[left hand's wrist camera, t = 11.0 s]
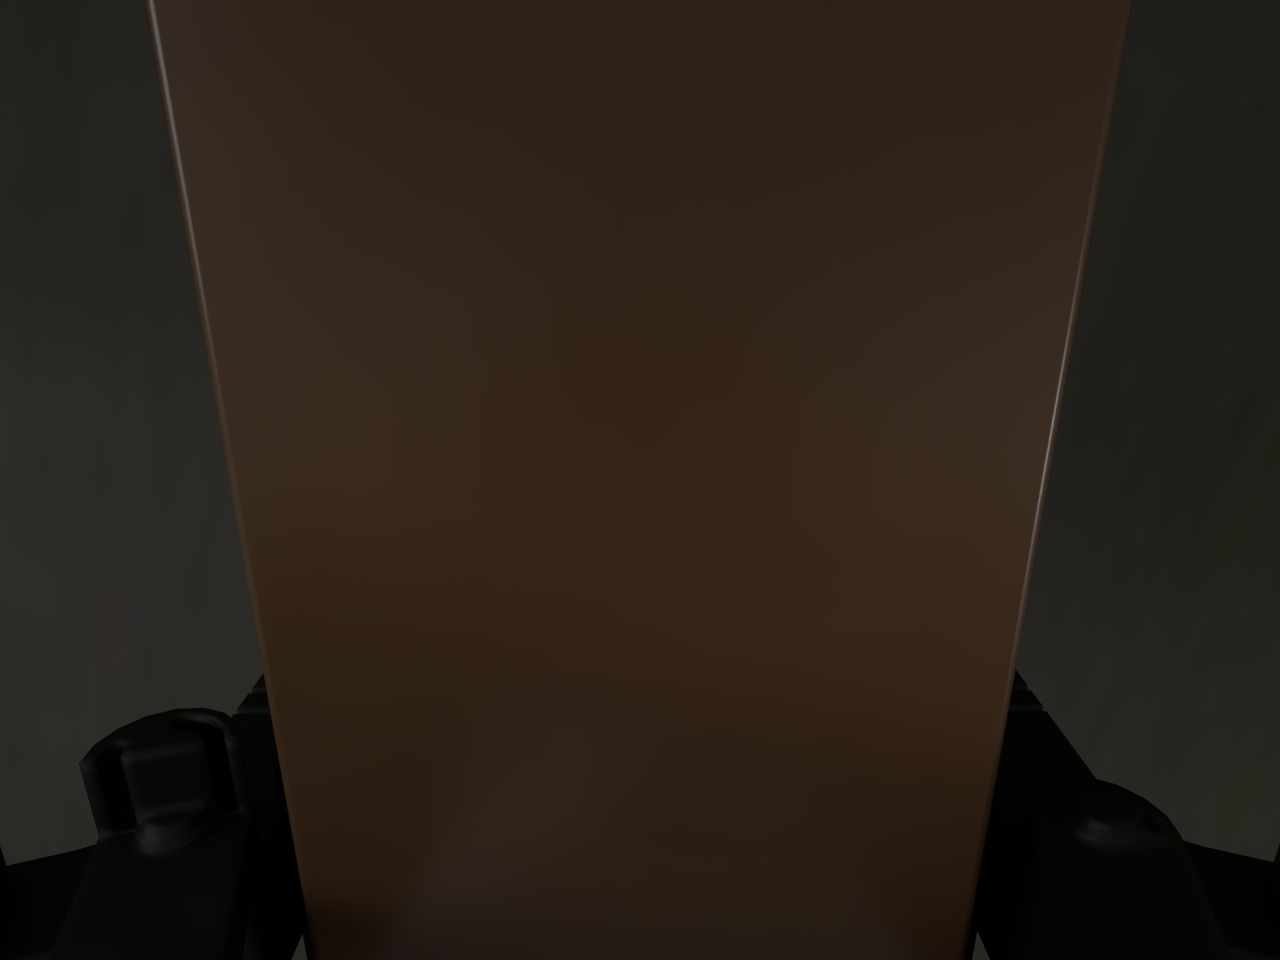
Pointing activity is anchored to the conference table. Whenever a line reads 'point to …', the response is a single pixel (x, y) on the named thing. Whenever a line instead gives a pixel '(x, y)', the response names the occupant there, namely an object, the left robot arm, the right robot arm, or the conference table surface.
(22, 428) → the conference table surface
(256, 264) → the bar
